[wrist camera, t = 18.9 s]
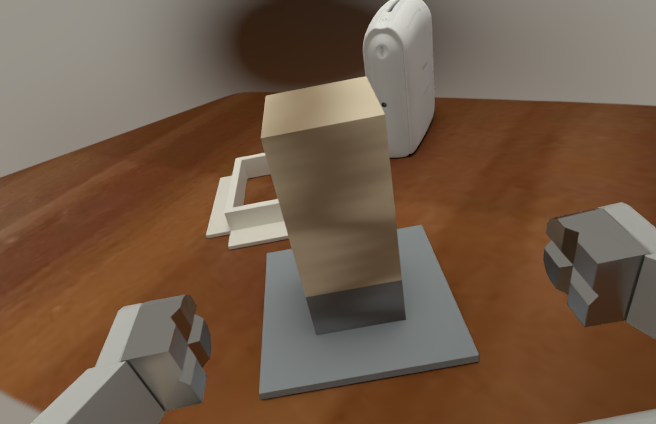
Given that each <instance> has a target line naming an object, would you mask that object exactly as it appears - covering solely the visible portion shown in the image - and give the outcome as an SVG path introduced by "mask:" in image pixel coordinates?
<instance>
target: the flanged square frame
mask: <svg viewBox="0 0 656 424" xmlns="http://www.w3.org/2000/svg"><path fill="white" fill-rule="evenodd" d="M269 174H271V173H270V169H269V166H268V162H267V159H266V155H265V153H261V154H256V155H251V156H246V157H240V158H236V160H235V165H234V169H233V174H232V176H228V177H223V178H220V182H219V186H218V190H217V194H216V198H215V202H214V206H213V210H212V213H211V217H210V221H209V225H208V229H207V233H206V237H207V238H213V237H218V236H223V235H229V234H230V238H229V244H228V248H229V250H231V249H236V248H242V247H247V246H253V245H258V244H263V243H269V242H274V241H279V240H285V239H289V237H288V233H287V230H286V226H285V223H284V219H283V215H282V212H281V208H280V205H279V201H278V199H275V200H270V201H265V202H259V203H254V204H249V205H244V198H245V191H246V185H247V179H248V178H253V177H259V176H264V175H269ZM243 205H244V206H243Z"/></svg>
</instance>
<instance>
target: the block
mask: <svg viewBox="0 0 656 424" xmlns="http://www.w3.org/2000/svg"><path fill="white" fill-rule="evenodd" d="M261 141H262V144H263V148H264V152H265V155H266V159H267V162H268V166H269V169H270V173H271V176H272V180H273V183H274V187H275V191H276V194H277V198H278V201H279V205H280V208H281V212H282V215H283V219H284V223H285V226H286V230H287V233H288V237H289V240H290V244H291V247H292V251H293V254H294V258H295V262H296V265H297V269H298V272H299V276H300V279H301V283H302V286H303V290H304V294H305V297H306V301H307V304H308V308H309V311H310V315H311V318H312V322H313V325H314V329H315V333H316V335H322V334H328V333H333V332H339V331H345V330H350V329H356V328H362V327H367V326H373V325H379V324H384V323H390V322H396V321H401V320H406V314H405V304H404V294H403V285H402V275H401V265H400V255H399V246H398V236H397V226H396V216H395V207H394V197H393V187H392V177H391V168H390V158H389V148H388V138H387V129H386V119H385V113H384V111H383V109H382V107H381V105H380V103H379V101H378V99H377V97H376V95H375V93H374V91H373V89H372V87H371V85H370V83H369V81H368V79H367V77H366V76H365V77H360V78H355V79H350V80H345V81H339V82H334V83H329V84H324V85H319V86H314V87H309V88H304V89H299V90H293V91H288V92H283V93H278V94H273V95H268V96H266V100H265V108H264V116H263V124H262V132H261Z"/></svg>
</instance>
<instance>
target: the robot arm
mask: <svg viewBox="0 0 656 424" xmlns="http://www.w3.org/2000/svg"><path fill="white" fill-rule="evenodd" d="M546 233H547V235H548V236H549V237H550V238H551V241H550V242H549V244H548V245H547V246H546V247H545V248H544V264H545V268H546V272H547V274H548V276H549V279H550V281H551V282H552V283H553V285H554V286H555V288H556V289H558V290H560V291H562V292H564V293H566V294H568V301H567V304H568V306H569V307H570V308H571V310H572V311H573V312H574V314H575V315H576V317H577V318H578V319H579V321H580V322H581V323H582V325H583V326H584V327H589V326H595V325H601V324H606V323H612V322H618V321H624V320H626V323H628V324H630V325H631V326H633V327H635V328H637V329H638V330H640V331H642V332H643V333H645V334H647V335H649V336H650V337H652V338H654V339H655V340H656V228H655V227H654V226H653V225H652V224H651V223H649V222H648V221H647V220H646V219H645V218H643V217H642V216H641V215H640V214H639V213H637V212H636V211H635V210H634V209H633V208H631V207H630V206H629V205H627V204H625V203H622V202H620V203H616V204H611V205H607V206H603V207H598V208H596V209H591V210H586V211H582V212H577V213H572V214H568V215H563V216H559V217H554V218H550V220H549V222H548V223H547V230H546ZM196 306H197V305H196V304H195V302H194V300H193V299H192V297H191V296H190V295H181V296H176V297H170V298H165V299H159V300H154V301H148V302H144V303H140V304H135V305H129V306H124V307H123V308H121V309H120V310H119V311H118V313H117V315H116V318H115V320H114V322H113V325H112V327H111V330H110V332H109V334H108V337H107V339H106V342H105V344H104V346H103V349H102V351H101V354H100V356H99V358H98V361H97V363H96V365H95V367H94V368H90V369H87V370H86V371H85V372H84V373H83V374H82V375H81V376H80V377H79V378H78V379H77V380H76V381H75V382H74V383H73V384H72V385H71V386H70V387H68V388H67V389H66V390H65V391H64V392H63V393H62V394H61V395H60V396H59V397H58V398H57V399H56V400H55V401H54V402H53V403H52V404H51V405H50V406H49V407H47V408H46V409H45V410H44V411H43V412H42V413H41V414H40V415H39V416H38V417H37V418H36V419H35V420H34V421H33V422H32V423H31V424H159V422H160V421H161V419H162V418H163V416H164V415H165V412H164V411H169V410H173V409H178V408H182V407H186V406H191V405H195V404H200V403H202V401H203V396H204V390H205V384H206V378H207V375H206V374H205V372H204V370H203V369H202V368H203V366H204V365H205V364H206V363H207V361H208V360H209V359H210V353H211V338H210V333H209V329H208V326H207V324H206V322H205V320H204V319H203V318H201V317H199V316H198V315H196V314H195V311H196ZM578 424H656V409H652V410H647V411H642V412H636V413H631V414H626V415H621V416H615V417H610V418H605V419H599V420H594V421H589V422H584V423H578Z"/></svg>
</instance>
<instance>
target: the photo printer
mask: <svg viewBox="0 0 656 424" xmlns="http://www.w3.org/2000/svg"><path fill="white" fill-rule="evenodd" d="M363 57H364V66H365V74H366V77H367V79H368V81H369V83H370V85H371V87H372V89H373V91H374V93H375V95H376V97H377V99H378V101H379V103H380V105H381V107H382V109H383V111H384V113H385V119H386V129H387V138H388V148H389V157H390V158H400V157H406V156H408V155H409V154H412V153H413V152H414V151H415V150H416V149H417V147H418V146H419V144H420V142H421V141H422V139H423V137H424V135H425V133H426V131H427V129H428V127H429V125H430V123H431V120H432V118H433V115H434V106H435V102H434V70H433V44H432V21H431V14H430V11H429V9H428V7H427V5H426V4H425V3H424V2H423V1H422V0H390V1H388V2H387V3H386V4H385V5H384V6H383V7H381V8H380V10H379V11H378V12H377V14H376V15H375V16H374V18H373V19H372V21H371V23H370V25H369V27H368V29H367V31H366V34H365V38H364V42H363Z"/></svg>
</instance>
